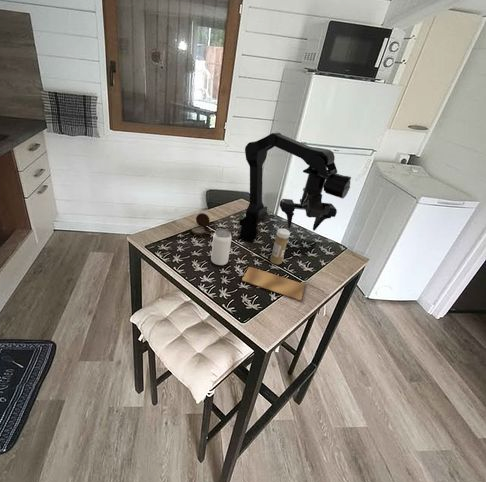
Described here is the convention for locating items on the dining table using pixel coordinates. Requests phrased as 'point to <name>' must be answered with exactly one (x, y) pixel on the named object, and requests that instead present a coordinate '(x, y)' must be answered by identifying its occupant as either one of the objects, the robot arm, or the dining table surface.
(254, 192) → the robot arm
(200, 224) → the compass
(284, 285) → the front mat
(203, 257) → the dining table surface
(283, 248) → the sprinkles bottle
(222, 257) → the can
